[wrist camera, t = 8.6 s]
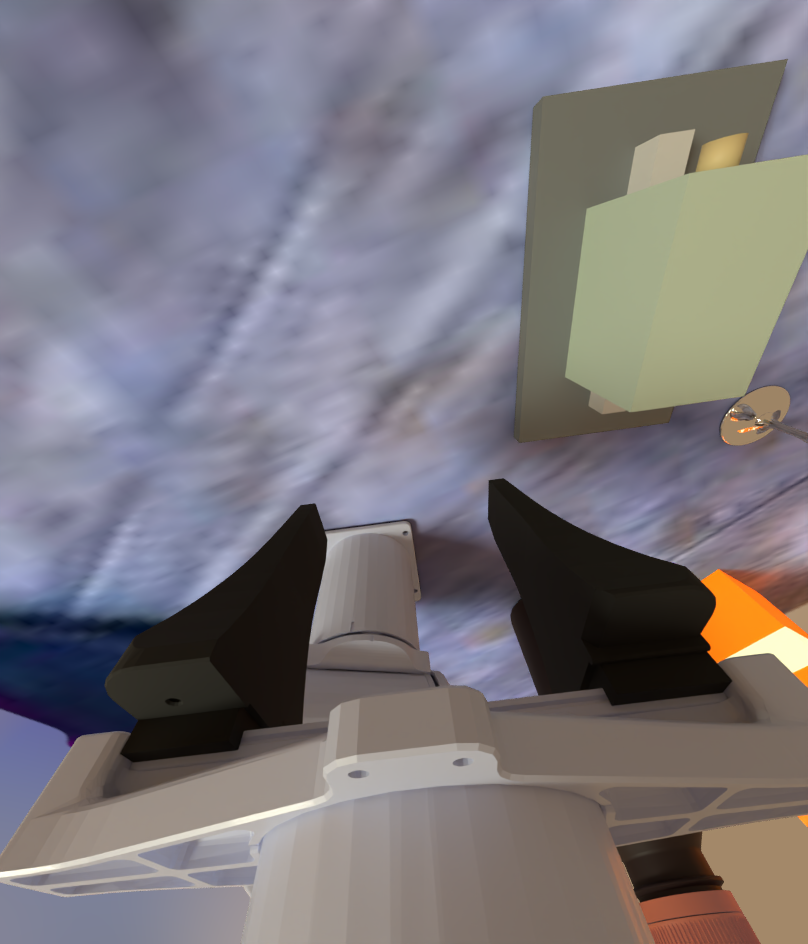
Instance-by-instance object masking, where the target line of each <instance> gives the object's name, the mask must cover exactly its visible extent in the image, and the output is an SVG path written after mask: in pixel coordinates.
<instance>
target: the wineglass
mask: <svg viewBox="0 0 808 944" xmlns="http://www.w3.org/2000/svg"><path fill="white" fill-rule="evenodd" d="M789 406H790V395H789V393H788V391H787V390H786V389H784V388H782V387H780V386H765V387H761V388H758V389H756V390H754V391H751V392H750V393H748V394H746V395H745V396H743V397H742V398H741V399H739V400H738V401H737V402H736V403H735V404H734V405H733V406H732V407H731V408H730V409H729V410H728V412H727V413H726V414H725V416H724V418H723V420H722V422H721V425H720V437H721V438H722V440H723V441H724V442H725V443H727V444H730V445H734V446H741V445H746V444H750V443H753V442H755V441H757V440H759V439H761V438H763V437H764V436H766V435H767V434H769V433H770V432H771V431H772V430H774V429H775V430H778V431H781V432H784V433H787V434H789V435H792V436H795V437H797V438H799V439H801V440H803V441H804V442H806V443H808V432H805V431H802V430H799V429H796V428H793V427H791V426H788V425H786V424H783V423H781V421H782V420H783V418H784V417H785V415H786V414H787V412H788V409H789Z"/></svg>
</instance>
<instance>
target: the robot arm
mask: <svg viewBox="0 0 808 944" xmlns="http://www.w3.org/2000/svg"><path fill="white" fill-rule="evenodd" d="M488 520H489V523H490V527H491V530H492V533H493V536H494V539H495V541H496V544H497V546H498V548H499V550H500V552H501V554H502V556H503V559H504V561H505V563H506V565H507V567H508V569H509V571H510V573H511V575H512V577H513V579H514V582H515V584H516V586H517V588H518V591H519V593H520V595H521V598H522V601H523V604H524V606H525V609H526V612H527V615H528V618H529V621H530V624H531V627H532V630H533V633H534V636H535V639H536V642H537V645H538V648H539V651H540V654H541V657H542V661H543V664H544V667H545V670H546V673H547V677H548V680H549V684H550V687H551V690H552V694H549V695H540V696H532V697H524V698H515V699H507V700H499V701H490V702H487V700H486V698H485V697H484V695H483V693H481V692H480V691H478V690H476V689H473V688H470V687H468V686H456V685H450V684H449V683H448V682H447V679H446V678H445V676H444V675H443V674H442V673H441V672H439V671H432V670H431V669H430V661H429V653H428V652H426V651H420V648H419V638H418V627H417V617H416V607H415V601H419V600H420V599H421V591H420V585H419V578H418V571H417V564H416V558H415V551H414V544H413V537H412V530H411V525H410V523H409V522H407V521H401V522H393V523H386V524H378V525H370V526H363V527H355V528H348V529H340V530H333V531H324V528H323V525H322V522H321V519H320V516H319V513H318V510H317V507H316V504H315V503H314V504H307V505H301V506H300V507H299V508H298V509H297V510H296V511H295V512H294V513H293V514H292V515H291V517H290V518H289V519H288V520H287V521H286V522H285V523H284V524H283V526H282V527H281V528H280V529H279V530H278V531H277V532H276V533H275V534H274V535H273V537H272V538H271V539H270V540H269V541H268V542H267V543H266V544H265V545H264V546H263V547H262V548H261V549H260V550H259V551H258V552H257V553H256V554H255V555H254V556H253V557H252V558H250V559H249V560H248V561H247V562H246V563H245V564H244V565H243V566H241V567H240V568H239V569H238V570H237V571H236V572H234V573H233V574H232V575H231V576H229V577H228V578H227V579H226V580H224V581H223V582H221V583H220V584H219V585H217V586H216V587H215V588H213V589H212V590H211V591H209V592H208V593H207V594H205V595H204V596H202V597H201V598H199V599H198V600H196V601H195V602H193V603H192V604H190V605H189V606H187V607H186V608H184V609H182V610H181V611H179V612H178V613H176V614H174V615H173V616H171V617H169V618H168V619H166V620H164V621H162V622H160V623H159V624H157V625H155V626H153V627H152V628H150V629H148V630H146V631H144V632H143V633H141V634H139V635H137V636H136V637H135V638H134V639H133V641H132V642H131V644H130V645H129V647H128V648H127V649H126V651H125V652H124V654H123V655H122V657H121V658H120V660H119V661H118V663H117V664H116V665H115V667H114V668H113V670H112V671H111V673H110V674H109V676H108V677H107V678H106V682H105V688H106V691H107V693H108V695H109V696H110V697H111V698H112V699H113V700H114V701H115V702H116V703H117V704H118V705H120V706H121V707H122V708H123V709H125V710H126V711H127V712H129V713H130V714H131V715H132V716H134V717H135V718H136V719H137V720H138V722H137V724H136V726H135V727H134V729H133V731H132V733H128V732H123V731H115V732H107V733H98V734H90V735H83V736H81V737H79V738H77V740H76V741H75V743H74V745H73V746H72V748H71V749H70V751H69V752H68V754H67V755H66V757H65V758H64V760H63V761H62V763H61V764H60V766H59V767H58V769H57V770H56V772H55V773H54V775H53V776H52V778H51V779H50V781H49V782H48V784H47V785H46V787H45V788H44V790H43V792H42V793H41V794H40V796H39V797H38V799H37V800H36V802H35V803H34V805H33V806H32V808H31V809H30V811H29V812H28V814H27V816H26V817H25V819H24V820H23V821H22V823H21V825H20V826H19V828H18V829H17V831H16V832H15V834H14V835H13V837H12V838H11V840H10V841H9V843H8V844H7V846H6V847H5V849H4V850H3V852H2V853H1V855H0V883H5V884H9V885H14V886H18V887H22V888H27V889H31V890H36V891H40V892H45V893H49V894H54V895H58V896H62V897H73V896H83V895H93V894H103V893H116V892H129V891H146V890H165V889H186V888H212V887H236V886H243V887H244V889H245V890H246V892H247V894H248V895H249V897H250V903H249V907H248V912H247V917H246V921H245V926H244V931H243V935H242V940H241V944H655V941H654V939H653V936H652V934H651V932H650V929H649V927H648V924H647V922H646V919H645V917H644V914H643V912H642V909H641V907H640V904H639V902H638V900H637V897H636V895H635V892H634V890H633V887H632V885H631V883H630V880H629V877H628V875H627V873H626V870H625V868H624V865H623V863H622V860H621V858H620V855H619V853H618V850H617V848H616V847H619V846H624V845H630V844H635V843H641V842H646V841H652V840H657V839H663V838H668V837H674V836H679V835H685V834H690V833H696V832H701V831H707V830H712V829H718V828H724V827H730V826H736V825H742V824H748V823H754V822H761V821H768V820H774V819H780V818H789V817H797V816H805V815H808V687H807V686H806V685H805V684H804V683H803V682H802V681H801V680H800V679H799V678H798V677H797V676H795V675H794V674H793V673H792V672H791V671H790V670H789V669H788V668H787V667H786V666H785V665H784V664H783V663H782V662H781V661H780V660H779V659H778V658H777V657H776V656H775V655H774V654H771V653H763V654H754V655H746V656H738V657H731V658H727V659H724V660H722V661H720V662H719V663H717V662H716V661H715V660H714V659H713V658H712V657H711V655H710V654H709V653H708V652H707V651H710V649H711V646H710V644H709V643H708V642H707V641H706V640H705V638H704V637H703V636H702V635H701V633H702V631H703V629H704V628H705V626H706V625H707V623H708V621H709V620H710V618H711V617H712V615H713V613H714V610H715V608H716V597H715V595H714V594H713V593H712V591H711V590H710V589H709V588H708V587H706V586H705V585H704V584H703V583H702V582H701V581H700V580H699V579H698V578H697V577H696V576H695V575H694V574H693V573H692V572H691V571H690V570H689V569H687V568H686V567H685V566H681V565H678V564H674V563H671V562H667V561H664V560H660V559H657V558H653V557H650V556H647V555H644V554H641V553H638V552H635V551H632V550H629V549H627V548H624V547H621V546H619V545H616V544H613V543H611V542H609V541H606V540H604V539H602V538H599V537H597V536H595V535H592V534H590V533H588V532H586V531H584V530H582V529H580V528H578V527H576V526H574V525H572V524H570V523H569V522H567V521H565V520H563V519H561V518H560V517H558V516H557V515H555V514H553V513H552V512H550V511H548V510H547V509H545V508H544V507H542V506H541V505H539V504H538V503H536V502H535V501H534V500H532V499H531V498H529V497H528V496H527V495H525V494H524V493H523V492H521V491H520V490H519V489H517V488H516V487H515V486H513V485H512V484H511V483H509V482H508V481H507V480H505V479H504V478H503V479H495V480H489V498H488ZM404 531H408V532H406V533H404ZM322 576H323V577H322ZM321 580H322V582H321ZM320 584H321V587H320ZM319 588H320V592H319ZM318 593H319V597H318ZM317 597H318V602H317V606H316V611H315V616H314V621H313V626H312V620H313V614H314V609H315V605H316V601H317ZM311 626H312V631H311ZM310 634H311V636H310Z"/></svg>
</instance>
